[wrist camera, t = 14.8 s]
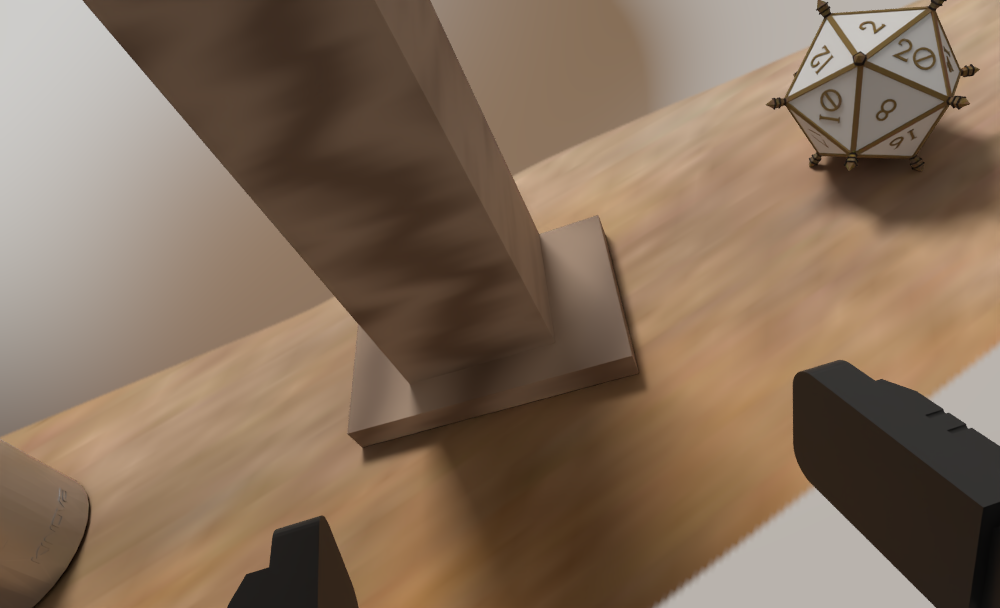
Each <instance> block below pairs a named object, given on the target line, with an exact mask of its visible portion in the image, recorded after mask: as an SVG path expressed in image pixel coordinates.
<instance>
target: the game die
mask: <svg viewBox="0 0 1000 608" xmlns="http://www.w3.org/2000/svg"><path fill="white" fill-rule="evenodd" d="M944 1H947V0H931V4H930V5H929V6H927V7H913V8H899V9H885V10H872V11H859V12H846V13H845V12H844V13H831V12H830V7H829V6H828V4H827V3H828V2H827V3H826V2H824V1H821V0H818V3H817V4H818V5H817V10H818V11H819V14H821V15H822V16H823V17H824V20H823V22H822V24H821V26H820V28H819V30H818V32H817V34H816V36H815V38H814V40H813V42H812V44H811V46H810V48H809V50H808V52H807V54H806V56H805V58H804V60H803V62H802V64H801V66H800V68H799V70H798V71H797V72H796V73H795V74H793V75H794V77H795V78H794V80H793V82H792V84H791V86H790V88H789V90H788V92H787V94H786V96H785V98H784V99H781V98H777V99H775V98H773V99H772V100H771V101H770V102H768V103H767V104H766V105H767V106H769V107H772V108H773V109H774V110H775V108H780V107H781V106H783V105H785V106H786V107H787V109H788V110H789V112H790V113H791V114H792V116H793V117H794V119H795V120H796V122H797V123H798V125H799V126H800V128H801V129H802V131H803V132H804V134H805V135H806V137H807V138H808V140H809V141H810V143H811V144H812V146H813V147H814V149H815V150H816V154H814V155H812V157H811V158H809V160H810V163H809V167H812V166H814V165H818V163H819V162H820V160H821V156H835V157H847V159H846V161H845V164H844V166H846V167H847V169H848V171H850V170H851V169H853V168H854V167H856V166H858V165H857V162H858V160H857V158H897V159H910V162H911V163H910V165H912V169H916V170H918V171H920V172H922V169H923V164H924V162H922V161H921V160H922V159H921V158H919V157H917V153H918V152H919V150H920V149H921V147H922V146H923V144H924V143H925V141H926V140H927V138H928V137H929V135H930V134H931V132H932V131H933V129H934V128H935V126H936V125H937V123H938V122H939V120H940V119H941V117H942V116H943V114H944V113H945V111H946V110H947V108H948V107H949V105H951V106H952V107H953V108H955V107H956V108H958V109H960V108H962V107H964V106H966V105H969V104H970V103H969V102H968V100H967V99H966V97H962V96H954V94H955V91H956V88H957V85H958V82H959V79H960V76H963V77H967V76H974V74H975V73H976V72H977V71H979V70H980V69H978V68H976V67H974V66H973V65H972V64H970V66H965V67H964V68H962V69H960V67H959V65H958V62H957V60H956V58H955V55H954V53H953V51H952V48H951V46H950V44H949V41H948V39H947V37H946V34H945V32H944V30H943V27H942V25H941V23H940V20H939V18H938V16H937V13H936V9H937V8H938V7H939V6H942V3H943V2H944Z"/></svg>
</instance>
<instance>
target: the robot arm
mask: <svg viewBox="0 0 1000 608" xmlns="http://www.w3.org/2000/svg"><path fill="white" fill-rule="evenodd" d="M793 446H794V452H795V456H796V459H797V462H798V464H799V466H800V468H801V470H802V472H803V474H804V475H805V477H806V478H807V479H808V481H809V482H810V483H811V484H812V485H813V486H814V487H815V488H816V489H817V490H818V491H819V492H820V493H821V494H822V495H823V496H824V497H825V498H826V499H827V500H828V501H829V502H830V503H831V504H832V505H833V506H834V507H835V508H836V509H837V510H838V511H839V512H840V513H841V514H843V516H844V517H845V518H846V519H848V520H849V521H850V523H851V524H853V525H854V526H855V528H857V529H858V530H859V531H860V532H861V533H862V534H863V535H864V536H865V537H866V538H867V539H868V540H869V541H870V542H871V543H872V544H873V545H874V546H875V547H876V548H877V549H878V550H879V551H880V552H881V553H882V554H883V555H884V556H885V557H886V558H887V559H888V560H889V561H890V562H891V563H892V564H893V565H894V566H895V567H896V568H897V569H898V570H899V571H900V572H901V573H902V574H903V575H904V576H905V577H906V578H907V579H908V580H909V581H910V582H911V583H912V584H913V585H914V586H915V587H916V588H917V589H918V590H919V591H920V592H921V593H922V594H923V595H924V596H925V597H926V598H927V599H928V600H929V601H930V602H931V603H932V604H933V605H934V606H935V607H936V608H1000V446H999V445H997V444H996V443H994V442H992V441H991V440H989V439H988V438H986V437H985V436H983V435H982V434H980V433H979V432H977V431H976V430H974V429H973V428H970V429H968V428H967V426H966V424H965V423H964V422H962V421H961V420H959V419H957V418H956V417H955V416H953V415H951V414H950V413H945V412H944V410H943V409H942V408H941V407H939V406H938V405H936V404H935V403H933V402H932V401H930V400H929V399H927V398H926V397H924V396H923V395H921V394H920V393H918V392H917V391H914V390H911V389H908V388H906V387H903V386H900V385H897V384H894V383H891V382H888V381H886V380H883V379H880V380H877V381H875V380H873V379H872V378H870V377H869V376H867V375H866V374H864V373H863V372H862V371H860V370H859V369H857V368H856V367H854V366H853V365H851V364H850V363H848V362H846V361H844V360H837V361H834V362H831V363H827V364H824V365H821V366H817V367H814V368H811V369H808V370H804V371H801V372H798V373H797V374H796V375H795V377H794V380H793ZM88 510H89V503H88V497H87V493H86V491H85V490H84V488H83V486H82V485H81V484H79V483H78V482H77V481H76V480H74V479H72V478H70V477H68V476H66V475H64V474H63V473H61V472H59V471H57V470H55V469H53V468H52V467H50V466H48V465H46V464H44V463H42V462H41V461H39V460H37V459H35V458H33V457H31V456H29V455H28V454H26V453H24V452H23V451H21V450H19V449H17V448H15V447H14V446H12V445H10V444H8V443H6V442H4V441H2V440H1V439H0V608H32V607H33V606H35V605H36V604H37V603H38V602H39V601H40V600H41V599H42V598H43V597H44V596H45V595H46V594H47V592H48V591H49V590H50V589H51V588H52V587H53V586H54V585H55V583H56V582H57V581H58V579H59V578H60V577H61V575H62V574H63V572H64V571H65V570H66V568H67V567H68V565H69V563H70V561H71V560H72V558H73V556H74V555H75V553H76V551H77V549H78V546H79V544H80V542H81V539H82V537H83V535H84V531H85V527H86V524H87V520H88ZM227 608H358V603H357V599H356V595H355V591H354V588H353V585H352V582H351V580H350V577H349V575H348V572H347V570H346V567H345V564H344V562H343V559H342V557H341V554H340V552H339V549H338V547H337V544H336V542H335V539H334V537H333V534H332V532H331V529H330V526H329V524H328V522H327V520H326V518H325V517H324V516H319V517H315V518H312V519H309V520H306V521H302V522H299V523H296V524H292V525H289V526H286V527H283V528H279V529H276V530H275V531H274V533H273V538H272V546H271V556H270V565H269V568H266V569H262V570H259V571H256V572H253V573H249V574H246V576H245V577H244V579H243V581H242V583H241V584H240V586H239V588H238V589H237V591H236V593H235V594H234V596H233V598H232V599H231V601H230V603H229V605H228V607H227Z"/></svg>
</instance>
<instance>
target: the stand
mask: <svg viewBox="0 0 1000 608" xmlns="http://www.w3.org/2000/svg"><path fill="white" fill-rule="evenodd" d="M83 1H84V3H85V4H86V5H87V6H88V7H89V8H90V10H91V11H92V12H93V13H94V14H95V16H96V17H97V18H98V19H99V20H100V21H101V22H102V24H103V25H104V26H105V27H106V28H107V30H108V31H109V32H110V33H111V34H112V35H113V37H114V38H115V39H116V40H117V41H118V43H119V44H120V45H121V46H122V47H123V48H124V50H125V51H126V52H127V53H128V54H129V55H130V57H131V58H132V59H133V60H134V61H135V62H136V64H137V65H138V66H139V67H140V68H141V70H142V71H143V72H144V73H145V74H146V75H147V77H148V78H149V79H150V80H151V81H152V82H153V84H154V85H155V86H156V87H157V88H158V89H159V90H160V92H161V93H162V94H163V95H164V96H165V98H166V99H167V100H168V101H169V102H170V104H171V105H172V106H173V107H174V108H175V109H176V111H177V112H178V113H179V114H180V115H181V116H182V118H183V119H184V120H185V121H186V122H187V123H188V124H189V126H190V127H191V128H192V129H193V130H194V132H195V133H196V134H197V135H198V136H199V138H200V139H201V140H202V141H203V142H204V143H205V145H206V146H207V147H208V148H209V149H210V150H211V152H212V153H213V154H214V155H215V156H216V158H217V159H218V160H219V161H220V162H221V163H222V165H223V166H224V167H225V168H226V169H227V170H228V171H229V173H230V174H231V175H232V176H233V177H234V179H235V180H236V181H237V182H238V183H239V184H240V186H241V187H242V188H243V189H244V190H245V192H246V193H247V194H248V195H249V196H250V197H251V198H252V200H253V201H254V202H255V203H256V204H257V206H258V207H259V208H260V209H261V210H262V211H263V213H264V214H265V215H266V216H267V217H268V219H269V220H270V221H271V222H272V223H273V224H274V226H275V227H276V228H277V229H278V230H279V231H280V233H281V234H282V235H283V236H284V237H285V238H286V240H287V241H288V242H289V243H290V244H291V245H292V247H293V248H294V249H295V250H296V251H297V252H298V254H299V255H300V256H301V257H302V258H303V259H304V261H305V262H306V263H307V264H308V265H309V267H310V268H311V269H312V270H313V271H314V273H315V274H316V275H317V276H318V277H319V278H320V280H321V281H322V282H323V283H324V284H325V285H326V287H327V288H328V289H329V290H330V291H331V292H332V294H333V295H334V296H335V297H336V298H337V299H338V301H339V302H340V303H341V304H342V305H343V307H344V308H345V309H346V310H347V311H348V312H349V314H350V315H351V316H352V317H353V318H354V319H355V321H356V322H357V323H358V331H357V341H356V352H355V362H354V372H353V382H352V392H351V402H350V412H349V423H348V433H347V434H348V435H349V436H350V437H351V438H353V439H354V440H355V441H356V442H357V443H358V444H359V445H360V446H361V447H365V446H369V445H372V444H376V443H380V442H384V441H387V440H391V439H395V438H399V437H402V436H406V435H410V434H413V433H417V432H421V431H425V430H428V429H432V428H436V427H440V426H443V425H447V424H451V423H455V422H458V421H462V420H466V419H469V418H473V417H477V416H481V415H484V414H488V413H492V412H496V411H499V410H503V409H507V408H511V407H514V406H518V405H522V404H526V403H529V402H533V401H537V400H540V399H544V398H548V397H552V396H555V395H559V394H563V393H567V392H570V391H574V390H578V389H582V388H585V387H589V386H593V385H596V384H600V383H604V382H608V381H611V380H615V379H619V378H623V377H626V376H630V375H634V374H638V373H639V371H638V367H637V363H636V359H635V355H634V351H633V347H632V342H631V338H630V334H629V330H628V326H627V322H626V318H625V314H624V310H623V306H622V302H621V298H620V293H619V289H618V285H617V281H616V277H615V273H614V269H613V265H612V261H611V257H610V253H609V248H608V244H607V240H606V236H605V233H604V230H603V227H602V224H601V222H600V219H599V216H598V215H597V216H594V217H591V218H588V219H585V220H581V221H578V222H575V223H572V224H569V225H566V226H563V227H560V228H557V229H554V230H551V231H548V232H545V233H541V234H539V233H538V231H537V228H536V226H535V224H534V222H533V220H532V218H531V216H530V213H529V211H528V209H527V207H526V205H525V203H524V201H523V198H522V196H521V194H520V192H519V190H518V188H517V186H516V183H515V181H514V179H513V177H512V175H511V173H510V171H509V169H508V166H507V164H506V162H505V160H504V158H503V156H502V154H501V151H500V149H499V147H498V145H497V143H496V141H495V138H494V136H493V134H492V132H491V130H490V128H489V126H488V124H487V121H486V119H485V117H484V115H483V113H482V111H481V108H480V106H479V104H478V102H477V100H476V98H475V96H474V93H473V91H472V89H471V87H470V85H469V83H468V81H467V79H466V76H465V74H464V72H463V70H462V68H461V66H460V63H459V61H458V59H457V57H456V55H455V53H454V51H453V48H452V46H451V44H450V42H449V40H448V38H447V35H446V33H445V31H444V29H443V27H442V25H441V23H440V21H439V18H438V16H437V14H436V12H435V10H434V8H433V6H432V3H431V1H430V0H83Z"/></svg>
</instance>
